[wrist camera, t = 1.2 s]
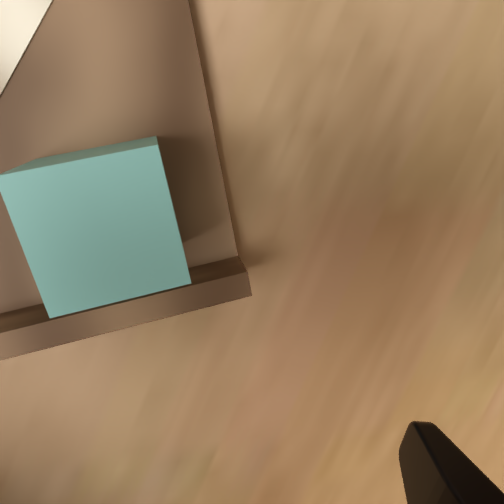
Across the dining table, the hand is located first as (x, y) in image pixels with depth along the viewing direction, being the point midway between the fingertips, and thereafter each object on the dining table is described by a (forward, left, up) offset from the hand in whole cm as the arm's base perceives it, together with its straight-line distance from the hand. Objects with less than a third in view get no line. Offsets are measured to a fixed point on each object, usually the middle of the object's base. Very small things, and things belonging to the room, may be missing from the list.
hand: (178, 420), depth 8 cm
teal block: (-2, +2, -12) cm, 13 cm away
